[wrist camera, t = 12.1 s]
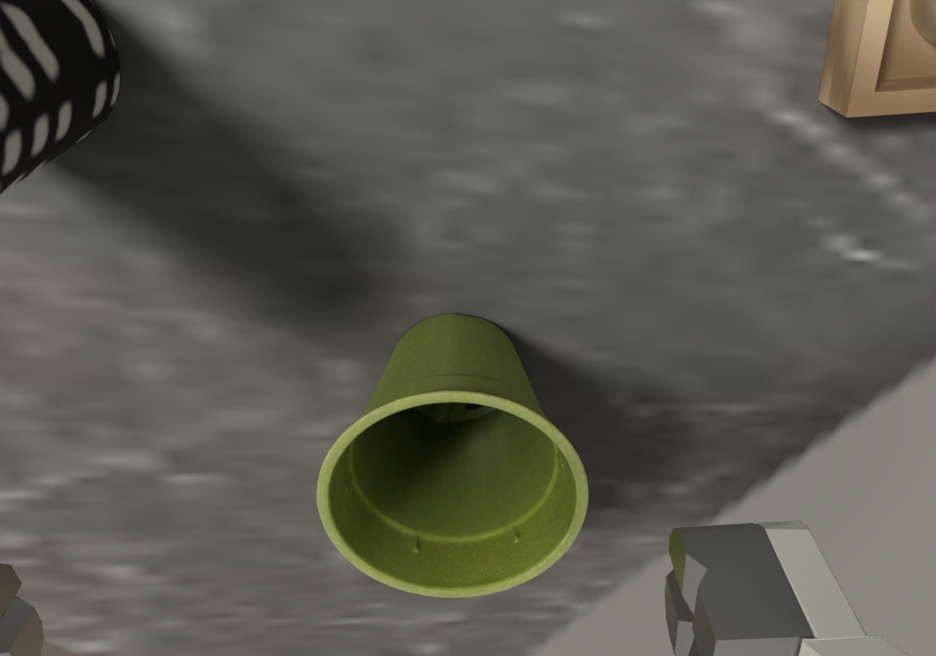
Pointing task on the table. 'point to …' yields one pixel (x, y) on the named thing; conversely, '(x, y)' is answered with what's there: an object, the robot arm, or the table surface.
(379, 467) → the plant pot
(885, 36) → the caddy
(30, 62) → the spotted tube
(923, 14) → the salt shaker
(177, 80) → the table surface
